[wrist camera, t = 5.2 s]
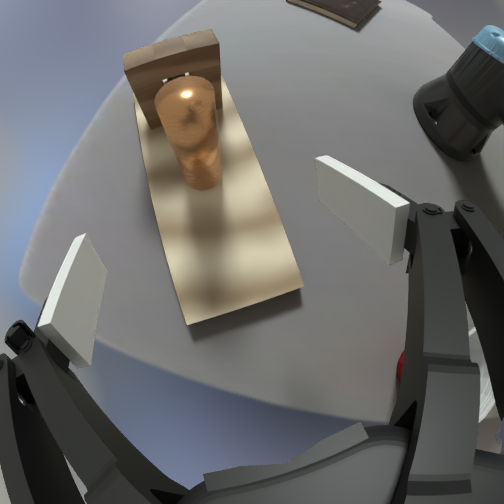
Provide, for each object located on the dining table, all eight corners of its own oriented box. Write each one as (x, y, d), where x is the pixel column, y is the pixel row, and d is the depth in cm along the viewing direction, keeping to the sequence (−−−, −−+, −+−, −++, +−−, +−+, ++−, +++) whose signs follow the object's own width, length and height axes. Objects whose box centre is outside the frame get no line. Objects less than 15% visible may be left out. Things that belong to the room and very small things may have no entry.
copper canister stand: (136, 94, 32) (110, 32, 20) (215, 70, 33) (211, 3, 21) (190, 323, 28) (155, 339, 15) (299, 287, 29) (343, 276, 16)
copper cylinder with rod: (159, 75, 30) (139, 7, 18) (187, 67, 30) (176, -3, 18) (189, 195, 27) (159, 126, 15) (227, 183, 27) (221, 107, 15)
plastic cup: (391, 313, 29) (460, 316, 17) (450, 327, 29) (516, 330, 17) (365, 401, 27) (422, 441, 15) (428, 404, 27) (487, 429, 15)
